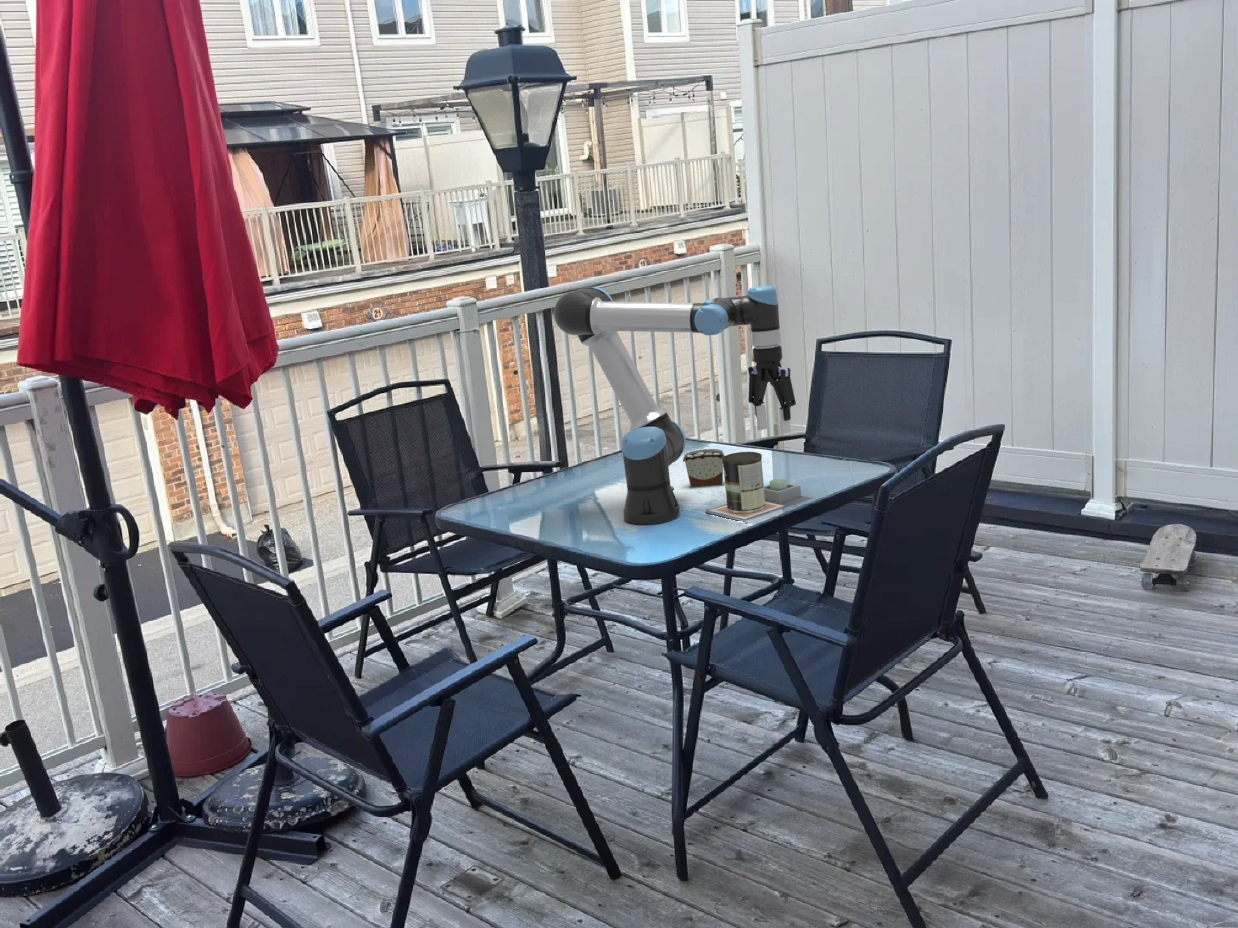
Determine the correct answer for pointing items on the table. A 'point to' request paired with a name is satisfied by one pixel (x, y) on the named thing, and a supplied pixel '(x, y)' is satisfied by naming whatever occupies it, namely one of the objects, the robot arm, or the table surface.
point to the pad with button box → (766, 503)
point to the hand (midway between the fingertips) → (774, 430)
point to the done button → (778, 484)
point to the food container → (704, 467)
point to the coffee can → (744, 482)
